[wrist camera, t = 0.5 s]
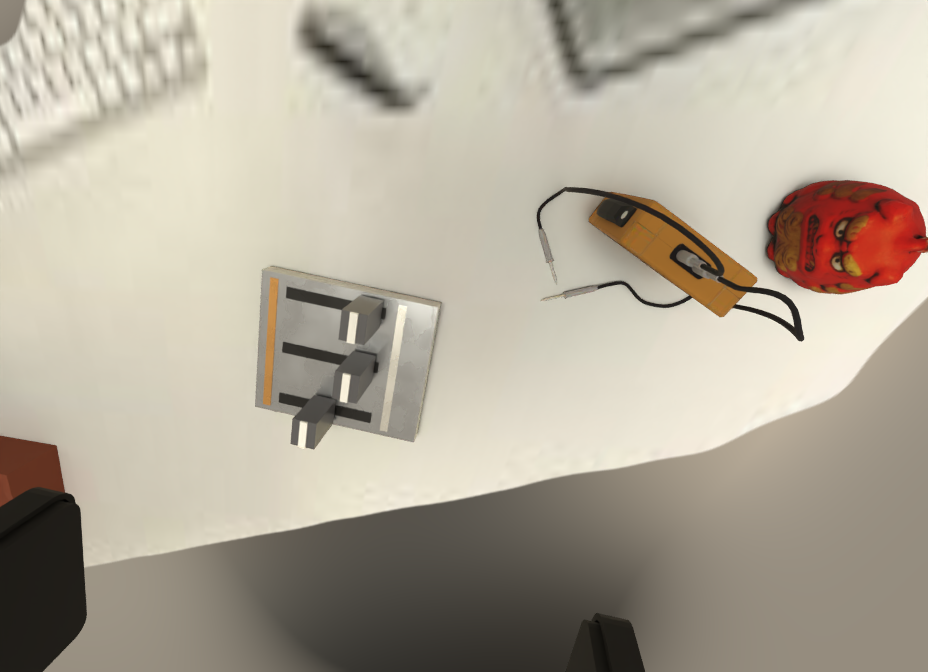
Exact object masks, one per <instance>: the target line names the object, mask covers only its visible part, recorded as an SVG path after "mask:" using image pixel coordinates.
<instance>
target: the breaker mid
mask: <svg viewBox="0 0 928 672" xmlns="http://www.w3.org/2000/svg"><path fill="white" fill-rule="evenodd" d="M375 358H376V356H374V355H369V354H365V353H360V352H356V351H353V352H352V353H351V354H350V355H349V356H348V357H347V358H346V359H345V360H344V361H343V362H342V364H341V365H340V366H339V367H338V368H337V369H336V370H335V374H334V383H333V392H332V398H333V399H337V400H340V402H345V403H347V402H351V403H355V404H357V402H358V401H359V399H360V398H361V397H362V395H363V394H364V392H365V391H366V389H367V388H368V386H369V385H370V384H371V382H372V379H373V372H374V365H375Z"/></svg>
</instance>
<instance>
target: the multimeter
mask: <svg viewBox="0 0 928 672" xmlns="http://www.w3.org/2000/svg"><path fill="white" fill-rule="evenodd" d="M564 191H567V192H577V193H586V194H592V195H598V196H602V197H605V198H604V200H603V201H602V202H601V203H600V205H599V206H598V207H597V209H596V210H595V211H594V213H593V214H592V215H591V216H590V218H589V222H590V223H591V224H592V225H594V226H595V227H596V228H598V229H599V230H601V231H602V232H603V233H604V234H606V235H607V236H609V237H610V238H611V239H613V240H614V241H615V242H617V243H618V244H620V245H621V246H622V247H624V248H625V249H626V250H628V251H629V252H630V253H632V254H633V255H634V256H636V257H637V258H639V259H640V260H641V261H643V262H644V263H645V264H647V265H648V266H649V267H651V268H652V269H653V270H655V271H656V272H657V273H659V274H660V275H662V276H663V277H664V278H666V279H667V280H669V281H670V282H671V283H673V284H674V285H676V286H677V287H678V288H680V289H681V290H683V291H684V292H685V293H687V294H688V295H690V296H688V297H687V298H685V299H683V300H681V301H679V302H676V303H673V304H668V305H661V304H654V303H650V302H646V301H644V300H643V299H641V298H640V297H639V296H638V295H637V294H636V293H635V291H634V290H633V289H632V288H631V287H630V286H629V284H627V283H625V282H622V281H618V282H612V283H607V284H603V285H600V286H590V287H585V288H581V289H577V290H572V291H568V292H563V293H564V294H562V295H558V296H554V297H549V298H545V299H543V300H541V301H547V300H551V299H556V298H560V297H565V299H566V298H567V297H572V296H576V295H580V294H585V293H589V292H593V291H595V290H598V289H600V288H604V287H608V286H613V285H618V284H622V285H625V286H626V287H627V288H628V289H629V290H630V291H631V292H632V294H633V295H634V296H635V297H636V298H637V299H638V300H639V301H640V302H642V303H644V304H646V305H649V306H654V307H660V308H669V307H674V306H677V305H680V304H682V303H684V302H686V301H688V300H690V299H691V298H694V299H695V300H697V301H698V302H699V303H701V304H702V305H704V306H705V307H706V308H708V309H709V310H711V311H712V312H713V313H715V314H716V315H718V316H719V317H724V316H725V315H726V314H727V313H728V312H729V311H730V310H731V309H732V308H735V309H740V310H745V311H749V312H753V313H756V314H759V315H762V316H765V317H767V318H770V319H772V320H774V321H776V322H778V323H779V324H781V325H782V326H784V327H785V328H786V329H788V330H789V331H790V332H791V333H792V334H793V335H794V336H795V337H796V338H797V340H798V341H803V340H804V335H803V331H802V325H801V319H800V315H799V312H798V309H797V307H796V306H795V304H794V303H793V301H792V300H791V299H789V298H788V297H787V296H786V295H784V294H782V293H779V292H777V291H774V290H770V289H764V288H757V287H752V286H753V285H754V284H755V283H756V282H757V277H755V276H754V275H753V274H752V273H751V272H749V271H748V270H747V269H745V268H744V267H743V266H741V265H740V264H739V263H737V262H736V261H735V260H733V259H732V258H731V257H729V256H728V255H727V254H725V253H724V252H723V251H721V250H720V249H719V248H717V247H716V246H715V245H713V244H712V243H711V242H709V241H708V240H707V239H705V238H704V237H703V236H702V235H700V234H699V233H698V232H696V231H695V230H694V229H692V228H691V227H690V226H688V225H687V224H686V223H684V222H683V221H682V220H680V219H679V218H678V217H676V216H675V215H674V214H673V213H671V212H670V211H669V210H667V209H666V208H665V207H663V206H662V205H661V204H659V203H658V202H656V201H654V200H650V199H645V198H641V197H636V196H631V195H626V194H620V193H614V192H605V191H600V190H594V189H588V188H575V187H565V188H563V189H562V190H560V191H559V192H557V193H556V194H554V195H553V196H551V197H550V198H549V199H547V200H546V201H545V202H544V203H543V204H542V205H541V206H540V208H539V209H538V212H537V222H538V226H539V235H540V239H541V243H542V246H543V250H544V253H545V256H546V263H549V264H550V267H551V271H552V274H553V277H554V281H555V282H556V284H557V279H556V276H555V272H554V269H553V265H552V261H554V259H553V258H552V255H551V252H550V248H549V245H548V241H547V238H546V234H545V232H544V230H543V228H542V226H541V222H540V212H541V210H542V208H543V207H544V206H545V205H546V204H547V203H548V202H549V201H551V200H552V199H554V198H555V197H557V196H558V195H560V194H561V193H563V192H564ZM747 292H751V293H760V294H766V295H770V296H774V297H776V298H778V299H780V300H782V301H783V302H784V303H785V304H787V305H788V307H789V309H790V310H791V313H792V316H793V320H794V327H795V328H794V327H793V326H792V325H791V324H789V323H788V322H786V321H785V320H783V319H781V318H780V317H778V316H775V315H773V314H771V313H768V312H765V311H762V310H759V309H755V308H752V307H747V306H742V305H737V304H736V303H737V302H738V301H739V300H740V299H741V298H742V297H743V296H744V295H745V294H746V293H747Z"/></svg>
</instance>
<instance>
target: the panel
mask: <svg viewBox="0 0 928 672" xmlns="http://www.w3.org/2000/svg"><path fill="white" fill-rule="evenodd" d="M360 295H361V296H366V297H370V298H375V299H380V300H384V301H383V308H382V315H381V322H380V328H379V329H378V330H377V331H376V332H375V334H374V335H373V336H372V337H371V338H370V339H369V340H368V342H367V343H366V344H365V345H360V344H356V343H355V344H351V343H346V342H347V341H342V340H338V338H339V329H340V320H341V311H342V309H343V308H344V307H346V306H347V305H348V304H349V303H351V302H352V301H353V300H354V299H356V298H357V297H358V296H360ZM440 307H441V302H437V301H432V300H427V299H423V298H418V297H413V296H409V295H404V294H399V293H395V292H390V291H385V290H381V289H376V288H371V287H367V286H362V285H358V284H353V283H348V282H344V281H339V280H334V279H330V278H325V277H320V276H316V275H311V274H306V273H302V272H297V271H292V270H288V269H283V268H278V267H274V266H270V267H267V268H265V269H262V284H261V303H260V323H259V342H258V361H257V381H256V400H255V407H259V408H264V409H268V410H273V411H277V412H281V413H286V414H290V415H295V416H296V414H297V413H298V412H299V411H300V410H301V409H302V408H303V407H304V406H305V405H306V403H307V402H308V401H309V400H310V399H311V398H312V397H313V396H314V395H316V396H321V397H325V398H330V399H333V398H332V392H333V383H334V374H335V370H336V369H337V368H338V367H339V366H340V365H341V364H342V362H343V361H344V360H345V359H346V358H347V357H348V356H349V355H350V354H351V353H352V352H353V351H356V352H360V353H365V354H369V355H374V356H376V358H375V365H374V372H373V379H372V382H371V384H370V385H369V386H368V388H367V389H366V391H365V392H364V394H363V395H362V397H361V398H360V399H359V401H358V402H357V404H355V403H351V402H347V403H345V402H340V400H337V399H334V400H336V403H335V412H334V421H333V424H335V425H339V426H343V427H348V428H352V429H357V430H361V431H366V432H370V433H374V434H379V435H383V436H388V437H392V438H397V439H401V440H405V441H410V442H414V441H415V438H416V436H417V432H418V427H419V421H420V416H421V411H422V405H423V400H424V394H425V389H426V383H427V378H428V372H429V367H430V361H431V356H432V350H433V345H434V339H435V334H436V328H437V323H438V317H439V312H440Z"/></svg>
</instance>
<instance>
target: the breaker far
mask: <svg viewBox="0 0 928 672" xmlns="http://www.w3.org/2000/svg"><path fill="white" fill-rule="evenodd" d="M335 403H336V400H334V399H330V398H325V397H321V396H316V395H314V396H313V397H312V398H311V399H310V400H309V401H308V402H307V403H306V405H305V406H304V407H303V408H302V409H301V410H300V411H299V412H298V413H297V414H296V416H295V417H294V418H293V421H292V433H291V444H293V445H297V446H298V447H299V448H304V449H305V448H310V449H315V447H316V446H317V445H318V443H319V442H320V441H321V439H322V438H323V436H324V435H325V434H326V432H327V431H328V430H329V428H330V427H331V426H332V424H333V421H334V412H335Z"/></svg>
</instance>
